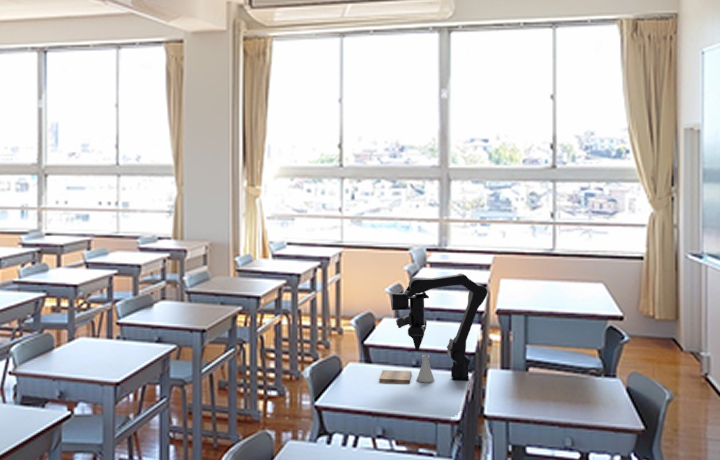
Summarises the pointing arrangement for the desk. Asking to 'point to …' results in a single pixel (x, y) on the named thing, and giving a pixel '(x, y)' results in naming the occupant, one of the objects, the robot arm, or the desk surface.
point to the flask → (425, 371)
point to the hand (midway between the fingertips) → (417, 347)
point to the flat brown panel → (395, 376)
